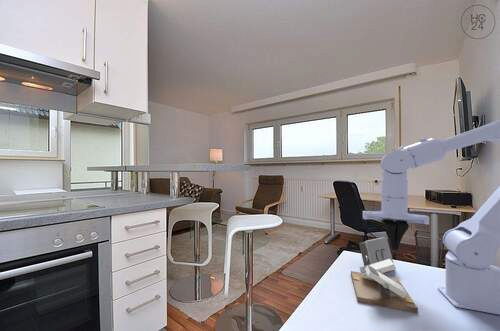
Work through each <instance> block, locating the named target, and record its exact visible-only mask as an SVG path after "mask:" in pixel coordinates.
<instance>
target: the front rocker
mask: <svg viewBox="0 0 500 331" xmlns="http://www.w3.org/2000/svg"><path fill="white" fill-rule="evenodd" d="M365 270H366V273H367V275H368V276H369V277H371V278H372V279H374V280H375V281H377V282H379V283H380V284H382V285H383V287H384V288H388V289H390V290H391V291H393V292H395V293H396V294H398V295H399V296H401V297H403V298H405V296H406V295H407V293H408V292H407V293H406V292H405V290H406V289H405V290H404V289H403V287H404V286H403V287H402V286H401V285H400V284H398V283H396V282H395V281H393V280H391V279H390V278H388V277H389V276H386V275H385V274H384V273H380V272H378V271H377V270H376V269H374V268H372V267H371V266H369V265H367V267H366V268H365Z"/></svg>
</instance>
